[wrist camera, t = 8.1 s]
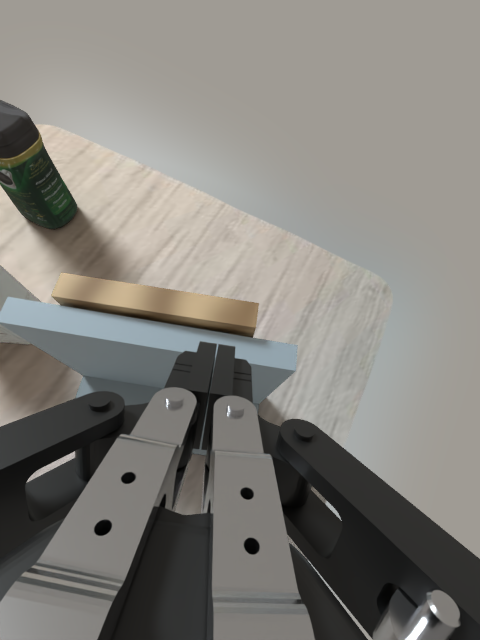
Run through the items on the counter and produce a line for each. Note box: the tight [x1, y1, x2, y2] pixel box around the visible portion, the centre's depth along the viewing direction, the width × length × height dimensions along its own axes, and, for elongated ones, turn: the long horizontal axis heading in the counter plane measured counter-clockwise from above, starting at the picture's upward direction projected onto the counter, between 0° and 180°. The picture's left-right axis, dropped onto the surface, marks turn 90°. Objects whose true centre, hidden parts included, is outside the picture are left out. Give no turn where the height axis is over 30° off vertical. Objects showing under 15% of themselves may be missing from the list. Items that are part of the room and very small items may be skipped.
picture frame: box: [51, 273, 259, 338], centre depth 34 cm, size 18×2×15 cm, turn 82°
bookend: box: [0, 297, 298, 455], centre depth 36 cm, size 26×10×22 cm, turn 82°
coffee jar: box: [0, 100, 77, 229], centre depth 49 cm, size 10×8×19 cm
